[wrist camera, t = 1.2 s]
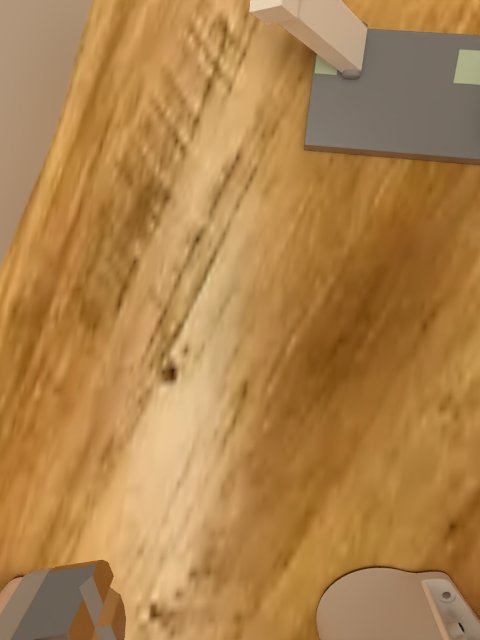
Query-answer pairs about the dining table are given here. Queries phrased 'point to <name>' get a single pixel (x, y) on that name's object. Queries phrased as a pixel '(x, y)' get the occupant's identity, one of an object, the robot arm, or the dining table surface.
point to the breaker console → (401, 99)
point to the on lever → (320, 29)
